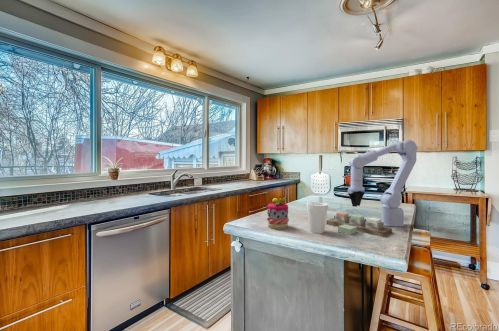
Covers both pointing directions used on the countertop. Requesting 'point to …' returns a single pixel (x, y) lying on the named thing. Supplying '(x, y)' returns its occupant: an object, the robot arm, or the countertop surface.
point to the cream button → (374, 220)
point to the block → (347, 229)
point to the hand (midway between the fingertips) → (356, 206)
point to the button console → (361, 225)
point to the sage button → (357, 217)
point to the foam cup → (317, 216)
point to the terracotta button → (342, 214)
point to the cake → (278, 214)
